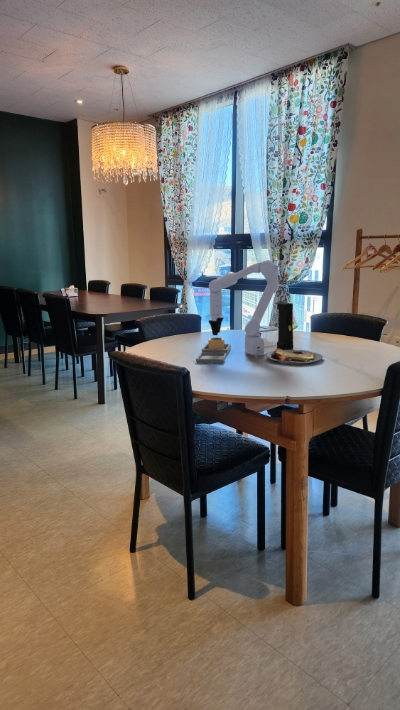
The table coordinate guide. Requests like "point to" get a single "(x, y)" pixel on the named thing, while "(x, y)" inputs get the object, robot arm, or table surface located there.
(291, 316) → the portable radio
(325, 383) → the table surface
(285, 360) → the food plate
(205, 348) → the case
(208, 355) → the shallow grey tray
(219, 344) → the module
